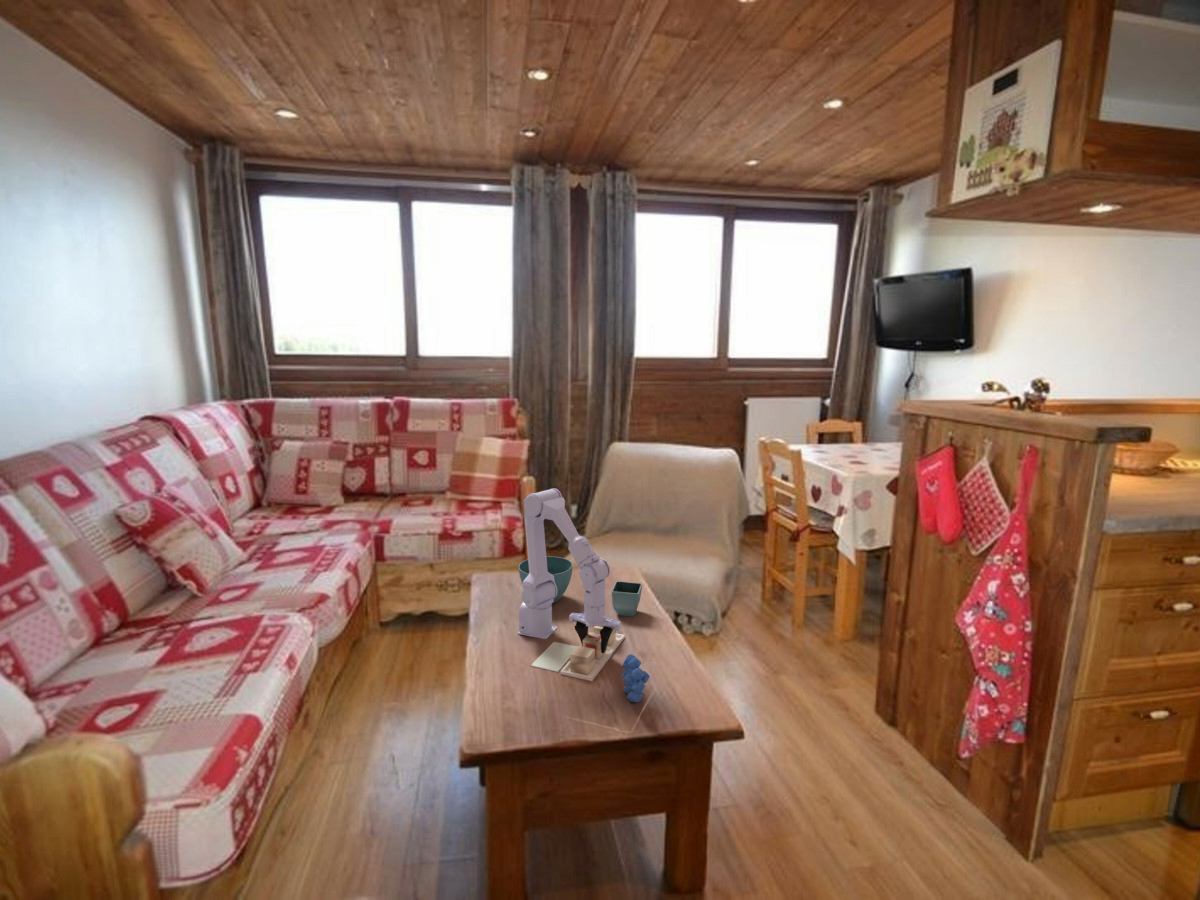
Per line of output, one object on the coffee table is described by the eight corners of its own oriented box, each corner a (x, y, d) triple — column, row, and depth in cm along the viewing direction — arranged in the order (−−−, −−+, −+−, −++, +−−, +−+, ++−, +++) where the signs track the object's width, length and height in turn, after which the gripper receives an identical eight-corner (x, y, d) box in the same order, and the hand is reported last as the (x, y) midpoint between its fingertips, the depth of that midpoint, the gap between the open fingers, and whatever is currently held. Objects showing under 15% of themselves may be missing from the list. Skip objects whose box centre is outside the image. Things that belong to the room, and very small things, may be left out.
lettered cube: (582, 657, 164) (582, 639, 164) (589, 648, 169) (589, 631, 168) (599, 660, 163) (599, 643, 162) (606, 652, 167) (606, 634, 166)
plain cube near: (570, 671, 157) (570, 654, 156) (577, 662, 162) (577, 645, 161) (587, 675, 155) (587, 657, 154) (595, 666, 160) (595, 648, 159)
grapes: (657, 712, 140) (658, 665, 138) (630, 716, 139) (630, 669, 137) (642, 685, 151) (642, 641, 149) (616, 689, 150) (616, 644, 148)
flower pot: (638, 620, 188) (638, 593, 186) (610, 618, 189) (611, 591, 188) (642, 608, 196) (642, 583, 195) (615, 606, 198) (615, 580, 196)
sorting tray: (560, 675, 156) (560, 671, 156) (596, 633, 179) (596, 629, 179) (592, 682, 153) (592, 678, 153) (624, 638, 176) (624, 634, 176)
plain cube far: (593, 643, 172) (593, 627, 171) (600, 636, 177) (600, 620, 176) (610, 646, 170) (610, 630, 169) (616, 639, 175) (616, 623, 174)
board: (530, 667, 160) (530, 665, 160) (553, 643, 173) (553, 641, 173) (557, 673, 157) (557, 671, 157) (579, 648, 170) (579, 646, 170)
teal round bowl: (510, 606, 197) (509, 571, 195) (532, 586, 214) (531, 553, 212) (561, 614, 192) (561, 577, 190) (580, 592, 209) (579, 558, 207)
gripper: (564, 604, 162) (564, 651, 165) (614, 613, 157) (613, 661, 159) (574, 595, 169) (574, 639, 171) (623, 603, 164) (622, 649, 166)
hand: (594, 649), depth 166 cm, fingers closed on lettered cube, 5 cm apart
